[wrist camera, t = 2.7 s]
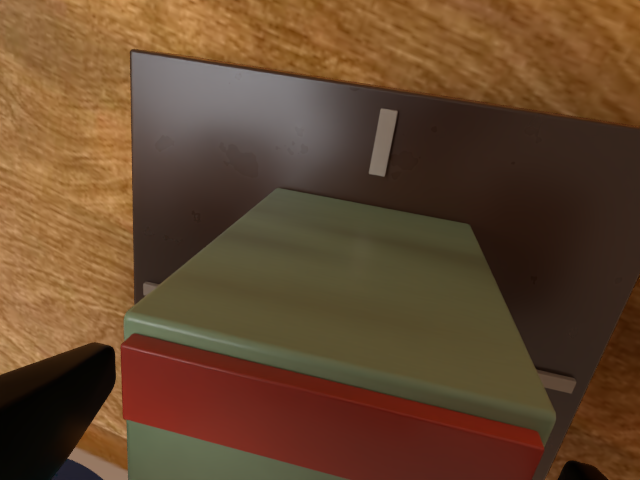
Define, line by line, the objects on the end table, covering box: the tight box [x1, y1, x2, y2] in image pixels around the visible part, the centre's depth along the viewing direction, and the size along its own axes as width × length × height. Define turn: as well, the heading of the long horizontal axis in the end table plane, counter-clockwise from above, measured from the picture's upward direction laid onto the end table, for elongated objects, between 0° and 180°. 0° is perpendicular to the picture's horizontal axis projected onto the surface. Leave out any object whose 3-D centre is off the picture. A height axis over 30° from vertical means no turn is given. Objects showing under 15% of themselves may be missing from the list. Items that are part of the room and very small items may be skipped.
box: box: [121, 188, 556, 480], centre depth 8 cm, size 7×4×6 cm, turn 172°
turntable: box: [130, 49, 640, 480], centre depth 12 cm, size 12×12×2 cm
